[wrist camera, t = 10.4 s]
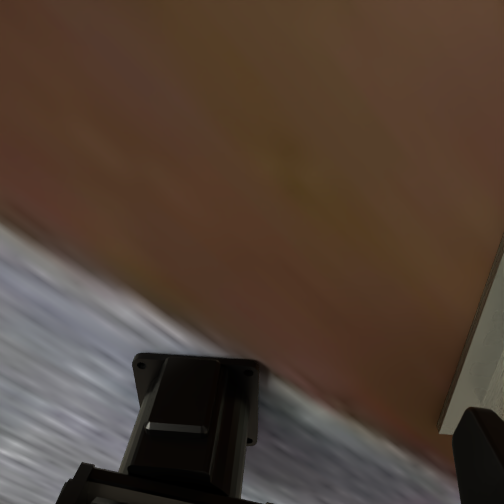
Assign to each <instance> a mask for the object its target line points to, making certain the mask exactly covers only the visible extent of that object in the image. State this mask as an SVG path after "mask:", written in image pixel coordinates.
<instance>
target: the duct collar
mask: <svg viewBox="0 0 504 504" xmlns="http://www.w3.org/2000/svg"><path fill="white" fill-rule="evenodd" d="M468 407H480V408H488V409H491V410H493V411H494V412H495V413H497V414H498V415H499V417H500V418H501V419H502V420H503V421H504V234H503V237H502V240H501V243H500V245H499V248H498V251H497V254H496V257H495V260H494V263H493V265H492V268H491V271H490V274H489V277H488V280H487V283H486V286H485V288H484V291H483V294H482V297H481V300H480V303H479V306H478V309H477V311H476V314H475V317H474V320H473V323H472V326H471V329H470V332H469V334H468V337H467V340H466V343H465V346H464V349H463V352H462V354H461V357H460V360H459V363H458V366H457V369H456V372H455V375H454V377H453V380H452V383H451V386H450V389H449V392H448V395H447V398H446V400H445V403H444V406H443V409H442V412H441V415H440V418H439V421H438V423H437V428H438V432H439V434H450V435H453V434H454V431H455V429H456V427H457V425H458V423H459V421H460V419H461V417H462V415H463V413H464V411H465V410H466V409H467V408H468Z"/></svg>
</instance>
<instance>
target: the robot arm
mask: <svg viewBox="0 0 504 504" xmlns="http://www.w3.org/2000/svg"><path fill="white" fill-rule="evenodd" d="M141 362H143V363H141ZM144 363H145V364H144ZM132 367H133V372H134V377H135V383H136V388H137V393H138V399H139V404H140V411H139V414H138V417H137V420H136V423H135V425H134V428H133V431H132V434H131V437H130V440H129V443H128V445H127V448H126V451H125V454H124V457H123V460H122V463H121V465H120V468H119V471H118V472H115V471H110V470H106V469H101V468H96V467H95V465H94V464H89V463H84V462H82V463H81V465H80V466H79V468H78V470H77V472H76V474H75V476H74V478H73V479H69V480H68V482H66V483H65V484H64V486H63V488H62V491H61V493H60V495H59V497H58V500H57V502H56V504H262V503H257V502H253V501H248V500H244V499H241V492H242V482H243V473H244V463H245V454H246V446H253V445H255V444H256V443H257V436H258V389H259V366H258V364H257V363H256V362H254V361H251V360H240V359H225V358H210V357H195V356H180V355H165V354H150V353H139V354H137V355H136V356H135V357H134V360H133V362H132ZM248 369H249V370H251V371H249V370H248ZM452 448H453V455H454V461H455V468H456V474H457V481H458V487H459V494H460V500H461V504H504V421H503V420H502V419H501V418H500V417H499V415H498V414H497V413H495V412H494V411H493V410H491V409H488V408H480V407H468V408H467V409H466V410H465V411H464V413H463V415H462V417H461V419H460V421H459V423H458V425H457V427H456V429H455V431H454V434H453V437H452ZM266 504H273V503H268V502H267V503H266Z"/></svg>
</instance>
